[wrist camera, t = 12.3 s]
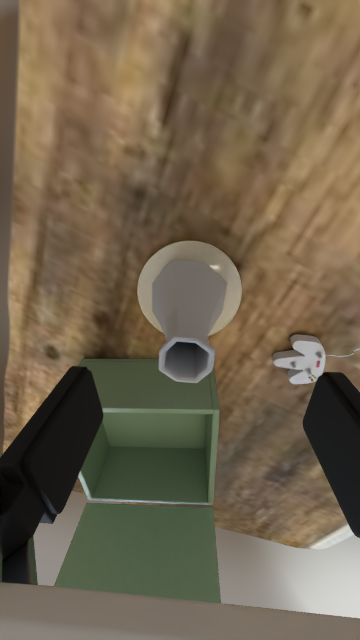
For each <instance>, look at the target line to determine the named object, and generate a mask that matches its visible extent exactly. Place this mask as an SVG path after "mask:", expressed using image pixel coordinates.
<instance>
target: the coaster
mask: <svg viewBox="0 0 360 640" xmlns="http://www.w3.org/2000/svg"><path fill="white" fill-rule="evenodd" d="M171 260H183V261H196V262H205V263H206V264H207V265H208V266H209V267H210V268H211V269H213V270H214V271H215V272H216V273H217V274H218V275H219V276H220V277H221V278H222V279H223V280H225V281H226V282H227V288H226V294H225V300H224V305H223V311H222V313H221V315H220V316H219V318H218V319H217V321H216V322H215V324H214V326H213V328H212V329H211V331H210V333H209V335H208V336H211V335H213V334H215V333H217V332H219V331H220V330H221V329H223V328H224V327H225V326H226V325H227V324H228V323H229V322H230V321H231V320H232V319H233V317H234V316H235V314H236V312H237V310H238V308H239V305H240V302H241V296H242V284H241V279H240V275H239V273H238V270H237V268H236V267H235V265H234V263H233V262H232V261H231V259H230V258H229V257H228V256H227V255H226V254H225V253H224V252H223V251H221V250H220V249H218V248H217V247H215V246H213V245H211V244H208V243H205V242H202V241H196V240H184V241H178V242H174V243H171V244H169V245H166V246H165V247H163V248H161V249H160V250H158V251H157V252H156V253H155V254H154V255H153V256H152V257H151V258H150V259H149V260H148V261H147V263H146V264H145V266H144V267H143V269H142V271H141V274H140V276H139V281H138V288H137V293H138V300H139V304H140V307H141V310H142V312H143V314H144V315H145V317H146V318H147V320H148V321H149V322H150V323H151V324H152V325H153V326H154V327H155V328H156V329H158V330H159V331H160V332H162V333H164V332H163V330H162V328H161V326H160V324H159V322H158V320H157V319H156V317H155V316H154V314H153V312H152V283H153V282H154V281H155V279H156V278H157V277H158V276H159V275H160V273H161V272H162V271H163V270H164V269H165V267H166V266H167V265H168V264H169V263H170V261H171Z"/></svg>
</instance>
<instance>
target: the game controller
mask: <svg viewBox="0 0 360 640" xmlns="http://www.w3.org/2000/svg"><path fill="white" fill-rule="evenodd" d="M290 341H291V344H292V346H293V348H294V349H295V350H289V351H282V352H276V353H274V354H273V355H272V357H273V361H274V365H276V366H277V367H283V368H289V369H290V370H288V372H287V374H288V377H289V381H290V382H291V383H292V384H305V383H312V382H315V381H317V379H318V377H319V376H321V374H322V372H323V370H324V366H325V356H335V355H325V351H324V348H323V346H322V344H321V343H320V341H319V340H318V339H317V337H314V336H310V335H298V334H296V335H293V336H292V337H291V338H290ZM356 350H359V349H356ZM356 350H354V351H356ZM354 351H353V354H354ZM353 354H350V355H353ZM350 355H346V356H350ZM335 357H345V356H335Z"/></svg>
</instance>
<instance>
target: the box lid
mask: <svg viewBox="0 0 360 640" xmlns="http://www.w3.org/2000/svg"><path fill="white" fill-rule="evenodd" d="M218 575H219V574H218V561H217V549H216V536H215V524H214V512H213V508H203V507H178V506H153V505H128V504H101V503H86V506H85V508H84V511H83V513H82V516H81V518H80V521H79V523H78V526H77V528H76V531H75V534H74V536H73V539H72V541H71V544H70V546H69V549H68V551H67V554H66V557H65V559H64V562H63V564H62V567H61V569H60V572H59V574H58V577H57V579H56V582H55V585H54V586H57V587H67V588H77V589H87V590H97V591H107V592H117V593H127V594H137V595H147V596H156V597H166V598H175V599H185V600H194V601H204V602H213V603H221V599H220V586H219V576H218Z"/></svg>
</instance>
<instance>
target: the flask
mask: <svg viewBox="0 0 360 640" xmlns="http://www.w3.org/2000/svg"><path fill="white" fill-rule="evenodd" d="M226 288H227V282H226V281H225V280H223V279H222V278H221V277H220V276H219V275H218V274H217V273H216V272H215V271H214V270H213V269H211V268H210V267H209V266H208V265H207V264H206V263H205V262H196V261H183V260H171V261H170V263H169V264H168V265H167V266H166V267H165V269H164V270H163V271H162V272H161V273H160V275H159V276H158V277H157V278H156V279H155V281H154V282H153V283H152V312H153V314H154V316H155V317H156V319H157V320H158V322H159V324H160V326H161V328H162V330H163V332H164V334H165V338H166V343H165V344H164V345H163V346H162V347H161V348H160V349H159V370H160V371H161V372H163V373H164V374H166V375H167V376H168V377H170V378H171V379H173V380H174V381H177V382H189V383H198V382H199V381H200V380H201V379H203V378H204V377H205V376H206V375H208V374H209V373H210V372H211V371H212V369H213V364H214V358H215V349H214V348H213V347H212V346H211V345H210V344H209V342H208V335H209V333H210V331H211V329H212V328H213V326H214V324H215V322H216V321H217V319H218V318H219V316H220V315H221V313H222V311H223V305H224V300H225V294H226Z"/></svg>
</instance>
